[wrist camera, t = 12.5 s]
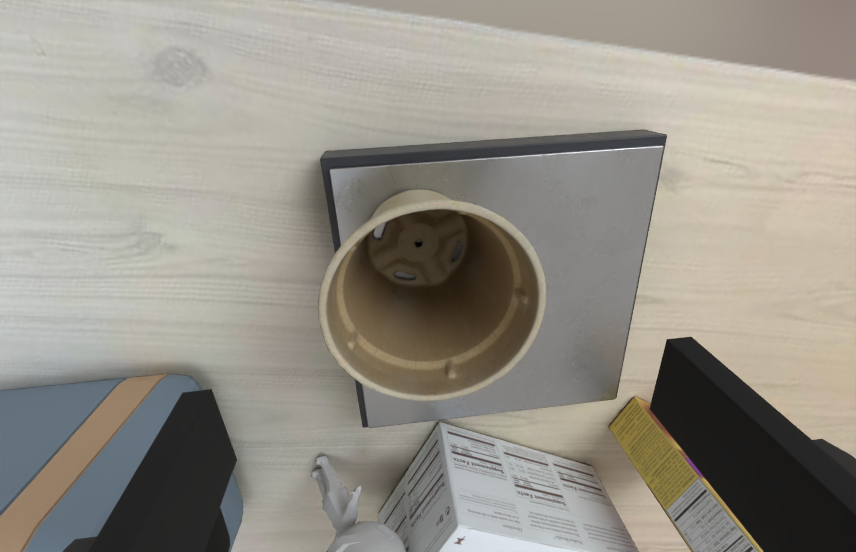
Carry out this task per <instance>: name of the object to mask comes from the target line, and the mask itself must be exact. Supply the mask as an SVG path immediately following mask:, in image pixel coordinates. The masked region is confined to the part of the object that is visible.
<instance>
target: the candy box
mask: <svg viewBox="0 0 856 552" xmlns="http://www.w3.org/2000/svg"><path fill="white" fill-rule="evenodd" d="M650 405H651V403H648V402H646V401H644V400H641V399H639V398H637V397H634V398H633V399H632V400H631V401H630V402H629V403H628V405H627V406H626V407H625V408H624V409H623V410H622V411H621V413H620V414H619V415H618V416H617V417H616V419H615V420H614V421H613V422H612V423H611V424H610V426H609V429H610V430H611V432H612V433H613V435H614V436H615V438H616V439H617V441H618V442H619V444H620V445H621V447H622V448H623V450H624V451H625V453H626V454H627V456H628V457H629V459H630V460H631V462H632V463H633V465H634V466H635V468H636V469H637V471H638V472H639V474H640V475H641V477H642V478H643V480H644V481H645V483H646V484H647V486H648V487H649V489H650V490H651V492H652V493H653V495H654V496H655V498H656V499H657V501H658V502H659V503H660V505H661V507H662V508H663V510H664V511H665V513H666V514H667V516H668V517H669V519H670V520H671V522H672V523H673V525H674V526H675V528H676V529H677V531H678V532H679V534H680V535H681V537H682V538H683V540H684V541H685V543H686V544H687V546H688V547H689V549H690V550H691V552H763V550H762V549H761V548H760V547H759V545H758V544H757V543H756V542H755V540H754V539H753V538H752V537H751V535H750V534H749V533H748V532H747V530H746V529H745V528H744V527H743V525H742V524H741V523H740V522H739V520H738V519H737V518H736V517H735V515H734V514H733V513H732V512H731V510H730V509H729V508H728V507H727V505H726V504H725V503H724V502H723V500H722V499H721V498H720V497H719V495H718V494H717V493H716V492H715V490H714V489H713V488H712V487H711V485H710V484H709V483H708V482H707V480H706V479H705V478H704V477H703V475H702V474H701V473H700V472H699V470H698V469H697V468H696V467H695V465H694V464H693V463H692V462H691V460H690V459H689V458H688V457H687V455H686V454H685V453H684V452H683V450H682V449H681V448H680V447H679V445H678V444H677V443H676V442H675V440H674V439H673V438H672V437H671V435H670V434H669V433H668V432H667V430H666V429H665V428H664V427H663V425H662V424H661V423H660V422H659V420H658V419H657V418H656V417H655V415H654V414H653V413H652V412H651V410H650Z"/></svg>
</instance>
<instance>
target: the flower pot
mask: <svg viewBox="0 0 856 552" xmlns="http://www.w3.org/2000/svg"><path fill="white" fill-rule="evenodd" d="M385 222H386V226H385V228H384V231H383V233H382V238H381V239H375V238H374V231H375V229H376V227H378V226H379V225H381V224H383V223H385ZM419 240H420V241H422V245H421V246H419V247H417V246H416V244H415V242H416V241H419ZM457 243H462V251H461V252H460V256H459V257H458V258H457V259H456V260H455V261H451V259H452V256H453V254H454V251H455V249H456V246H457ZM398 271H401V272H403V273H405V274H409V275H413V276H415V279H409V280H408V279H403V278H399V277H396V276H395V273H396V272H398ZM545 304H546V284H545V276H544V272H543V269H542V266H541V263H540V260H539V258H538V256H537V254H536V252H535V250H534V248H533V247H532V245H531V244H530V242H529V241H528V240H527V238H526V237H525V236H524V235H523V234H522V233H521V232H520V231H519V230H518V229H517V228H516V227H514V226H513V225H512V224H511V223H510V222H508V221H507V220H506V219H504V218H503V217H501V216H499V215H498V214H496V213H494V212H492V211H490V210H488V209H486V208H483V207H481V206H478V205H475V204H471V203H467V202H462V201H455V200H451V199H449V198H448V197H446V196H444V195H442V194H440V193H437V192H434V191H430V190H420V189H416V190H408V191H405V192H402V193H400V194H397V195H394V196H393V197H391V198H389V199H388V200H386V201H385V202H383V203H382V204H381V205H380V206H379V207H378V208H377V209H376V211H375V212H374V213H373V215H372V216H371V218H370V220H369V221H367V222H366V223H364V224H363V225H362V226H360V227H359V228H358V229H357V230H356V231H355V232H353V233H352V234H351V235H350V236H349V237H348V238H347V239H346V240H345V242H344V243H343V244H342V245H341V247H340V248H339V249H338V250H337V252H336V253H335V254H334V256H333V258H332V260H331V261H330V263H329V265H328V267H327V269H326V272H325V274H324V277H323V280H322V283H321V287H320V293H319V300H318V316H319V322H320V326H321V330H322V334H323V337H324V340H325V343H326V345H327V346H328V349H329V351H330V353H331V354H332V356H333V357H334V358H335V360H336V361H337V362H338V364H339V365H340V366H341V367H342V368H343V369H344V370H345V371H346V372H347V373H348V374H349V375H350V376H352V377H353V378H354V379H356V380H357V381H358V382H360V383H361V384H363V385H364V386H366V387H368V388H371V389H373V390H375V391H378V392H380V393H382V394H384V395H389V396H392V397H396V398H400V399H407V400H417V401H438V400H448V399H452V398H455V397H459V396H463V395H466V394H470V393H473V392H475V391H478V390H479V389H481V388H484V387H486V386H488V385H489V384H491V383H493V382H494V381H496V380H497V379H499V378H500V377H502V376H504V375H505V374H506V373H507V372H508V371H509V370H511V369H512V368H513V367H514V366H515V365H516V364H517V363H518V362H519V361H520V360H521V359H522V357H523V356H524V355H525V353H526V352H527V350H528V349H529V347H530V346H531V344H532V343H533V341H534V339H535V337H536V335H537V332H538V330H539V328H540V325H541V322H542V319H543V315H544V310H545Z"/></svg>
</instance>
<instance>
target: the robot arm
mask: <svg viewBox="0 0 856 552" xmlns="http://www.w3.org/2000/svg"><path fill="white" fill-rule="evenodd" d="M650 410H651V412H652V413H653V414H654V415H655V417H656V418H657V419H658V420H659V422H660V423H661V424H662V425H663V427H664V428H665V429H666V430H667V432H668V433H669V434H670V435H671V437H672V438H673V439H674V440H675V442H676V443H677V444H678V445H679V447H680V448H681V449H682V450H683V452H684V453H685V454H686V455H687V457H688V458H689V459H690V460H691V462H692V463H693V464H694V465H695V467H696V468H697V469H698V470H699V472H700V473H701V474H702V475H703V477H704V478H705V479H706V480H707V482H708V483H709V484H710V485H711V487H712V488H713V489H714V490H715V492H716V493H717V494H718V495H719V497H720V498H721V499H722V500H723V502H724V503H725V504H726V505H727V507H728V508H729V509H730V510H731V512H732V513H733V514H734V515H735V517H736V518H737V519H738V520H739V522H740V523H741V524H742V525H743V527H744V528H745V529H746V530H747V532H748V533H749V534H750V535H751V537H752V538H753V539H754V540H755V542H756V543H757V544H758V545H759V547H760V548H761V549H762V550H763V552H856V459H855V458H854V457H853V456H852V455H850V454H848V453H846V452H844V451H843V450H841V449H839V448H837V447H835V446H834V445H832V444H830V443H828V442H827V441H825V440H823V439H817V440H811V439H810V438H809V437H808V436H806V435H805V434H804V433H803V432H802V431H801V430H799V429H798V428H797V427H796V426H795V425H794V424H792V423H791V422H790V421H789V420H788V419H787V418H785V417H784V416H783V415H782V414H781V413H780V412H778V411H777V410H776V409H775V408H774V407H773V406H771V405H770V404H769V403H768V402H767V401H766V400H764V399H763V398H762V397H761V396H760V395H759V394H757V393H756V392H755V391H754V390H753V389H752V388H750V387H749V386H748V385H747V384H746V383H745V382H743V381H742V380H741V379H740V378H739V377H738V376H736V375H735V374H734V373H733V372H732V371H731V370H729V369H728V368H727V367H726V366H725V365H724V364H722V363H721V362H720V361H719V360H718V359H717V358H715V357H714V356H713V355H712V354H711V353H710V352H708V351H707V350H706V349H705V348H704V347H703V346H701V345H700V344H699V343H698V342H697V341H696V340H694V339H693V338H692V337H685V338H676V339H667V341H666V345H665V349H664V353H663V357H662V361H661V365H660V369H659V373H658V377H657V381H656V385H655V389H654V393H653V397H652V401H651V405H650ZM236 461H237V459H236V456H235V453H234V450H233V448H232V445H231V442H230V439H229V436H228V434H227V431H226V428H225V425H224V423H223V420H222V417H221V414H220V412H219V409H218V406H217V403H216V400H215V398H214V395H213V392H212V389H210V390H201V391H192V392H183V393H182V394H181V396H180V398H179V399H178V401H177V403H176V404H175V406H174V408H173V409H172V411H171V413H170V414H169V416H168V418H167V419H166V421H165V423H164V424H163V426H162V428H161V430H160V431H159V433H158V435H157V436H156V438H155V440H154V441H153V443H152V445H151V446H150V448H149V450H148V451H147V453H146V455H145V457H144V458H143V460H142V462H141V463H140V465H139V467H138V468H137V470H136V472H135V473H134V475H133V477H132V478H131V480H130V482H129V483H128V485H127V487H126V489H125V490H124V492H123V494H122V495H121V497H120V499H119V500H118V502H117V504H116V505H115V507H114V509H113V510H112V512H111V514H110V515H109V517H108V519H107V521H106V522H105V524H104V526H103V527H102V529H101V531H100V532H99V534H98V536H96V537H88V538H81V539H74V540H73V541H72V542H71V543H70V544H69V545H68V546H67V547H66V548H65V549H64V550H63V551H62V552H204V551H205V548H206V545H207V543H208V540H209V537H210V534H211V531H212V529H213V526H214V523H215V520H216V517H217V514H218V512H219V509H220V506H221V503H222V500H223V497H224V495H225V492H226V489H227V486H228V483H229V480H230V478H231V475H232V472H233V469H234V466H235V463H236Z"/></svg>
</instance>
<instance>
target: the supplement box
mask: <svg viewBox="0 0 856 552" xmlns="http://www.w3.org/2000/svg"><path fill="white" fill-rule="evenodd" d="M378 522H379V523H383V524H385V525H387V526H388V527H390V528H391V529H392V530H393V531H394V532H395V533H397V534H398V536H399V537H400V539H401V540H402V542H403V544H404V546H405V550H406V552H639V551H638V549H637V547H636V545H635V543H634V541H633V540H632V538H631V536H630V534H629V532H628V531H627V529H626V527H625V525H624V523H623V522H622V520H621V518H620V516H619V514H618V513H617V511H616V509H615V507H614V505H613V503H612V502H611V500H610V498H609V496H608V494H607V492H606V491H605V489H604V487H603V485H602V483H601V481H600V479H599V477H598V475H597V474H596V472H595V470H594V468H593V467H592V466H589V465H585V464H582V463H578V462H575V461H571V460H568V459H564V458H561V457H558V456H554V455H551V454H547V453H544V452H541V451H537V450H534V449H530V448H527V447H523V446H520V445H517V444H513V443H510V442H506V441H503V440H500V439H496V438H493V437H489V436H486V435H482V434H479V433H476V432H472V431H469V430H465V429H462V428H458V427H455V426H452V425H448V424H445V423H442V422H439V423H438V425H437V426H436V428H435V429H434V431H433V433H432V434H431V436H430V437H429V439H428V440H427V442H426V443H425V445H424V446H423V448H422V449H421V451H420V452H419V454H418V455H417V457H416V458H415V460H414V461H413V463H412V464H411V466H410V467H409V469H408V470H407V472H406V473H405V475H404V476H403V478H402V479H401V481H400V482H399V484H398V485H397V487H396V488H395V490H394V492H393V493H392V495H391V496H390V498H389V499H388V501H387V502H386V504H385V505H384V507H383V508H382V510H381V511H380V513H379V514H378Z"/></svg>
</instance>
